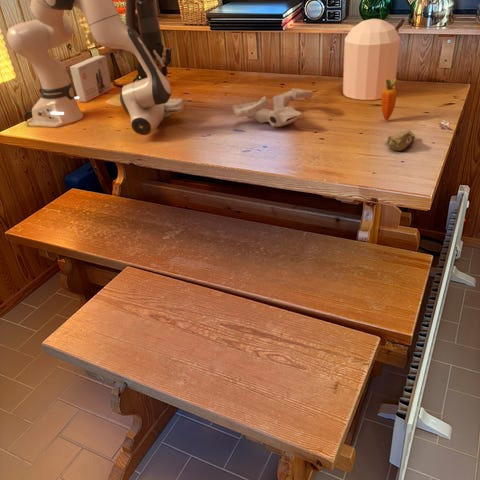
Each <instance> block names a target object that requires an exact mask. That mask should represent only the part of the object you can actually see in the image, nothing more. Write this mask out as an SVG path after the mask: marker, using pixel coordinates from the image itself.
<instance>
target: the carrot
mask: <svg viewBox="0 0 480 480" xmlns="http://www.w3.org/2000/svg"><path fill="white" fill-rule="evenodd" d="M397 81H398V78H396V79H395V80H394V82H393V84H391V82H390V79H386V83H387V85H386V87H387V88H386V89H384V90H383V91H382V98H381V99H380V101H381V102H380V104H381V112H382V113H381V114H382V117H383V119H384V120H385V121H386V122H388V121H389V119H390V118H391V117H392V114H393V112H394V109H395V106H396V101H397V96H398V95H397V94H398V91H397V89H396V88H395V89H394V88H393V86H394V84H395V85H396V83H397ZM389 85H390V86H389ZM391 85H392V86H391Z"/></svg>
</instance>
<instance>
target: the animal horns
mask: <svg viewBox="0 0 480 480" xmlns="http://www.w3.org/2000/svg"><path fill="white" fill-rule="evenodd" d="M313 93H314V92H313V91H312V90H307V89H302V88H292V89H291V90H289V91H286V92H283V93H281V94H277V95H275V96H272V102H271V103H272V107H273V109H272V110H271V109H266V108H265V107H267V106H268V98H267V96H266V95H264V96H262V97H261V98H260V99H259V100H258V101H257V102H256V101H251V102H246V103H240V104H234V105H232V106H231V107H232V108H231V109H232V112H233V113H234V115H235V116H237V118H244V117H246V118H248V119H252V120H257V122H259V123H269V124H270V126H272V127H274V128H280V127H284V126H287V125H290V124H294V123H296V121H298V120H301V119H302V112H301V111H300V110H297V109H295V108H294V107H291V106H288V105H289V103H290V102H292V101H299V100H308V101H310V100H311V99H312V97H313Z"/></svg>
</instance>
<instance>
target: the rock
mask: <svg viewBox="0 0 480 480" xmlns="http://www.w3.org/2000/svg"><path fill="white" fill-rule="evenodd" d="M415 139H416V135H415V134H414V132H412V131H411V130H408V129H407V130H404V131H398V132H396V133H394V134H393V135H392V134H391V135H389V136H388V137H387V143H388V145H387V146H388V147H389V149H391V150H392V151H395V152H404V151H406V150H407V148H409V145H410V144H411V143H412V142H413V141H414V140H415Z"/></svg>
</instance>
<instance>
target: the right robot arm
mask: <svg viewBox="0 0 480 480" xmlns="http://www.w3.org/2000/svg"><path fill="white" fill-rule="evenodd" d="M124 21H125V22H124V23H125V24H126V26H128V27H129V28H131V29H134V30H135V31H136V32H137V33H138V34H139V36H140V37H141V39H142V40H143V42H144V43H145V45H146V47H147V48H148V50H149V52H150V53H151V55H152V57H153V59H154V60H155V62H156V64H157V65H158V62H159V63H160V65H161V67H162V72H163V74H164V76H165V77H166V78H167V77H168V75H169V72H168V66H169V65H170V64H171V63H172V48H171V47H165V46H164V44H163V39H162V33H161V32H162V31H161V27H160V23H159V18H158V13H157V8H156V0H125V13H124ZM163 53H164V54H165V56H164V54H163ZM135 59H136V64H137V67H136V71H137V72H136V73H137V74H136V75H135V78H134V79H133V80H132V82H131V83H133V82H136V81H139V80H142V79H145V78H147V77H148V76H147V74H146V72H145V71H144V69H143V67H142V66H141V64H140V62H139V61H138V59H137V57H136V56H135ZM157 61H158V62H157ZM110 81H111V83H112V84H113V86H114V87H118V88H119V87H120V88H122V87H123V86H124V85H125V84H118V83H116V81H115V80H112V79H110Z"/></svg>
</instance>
